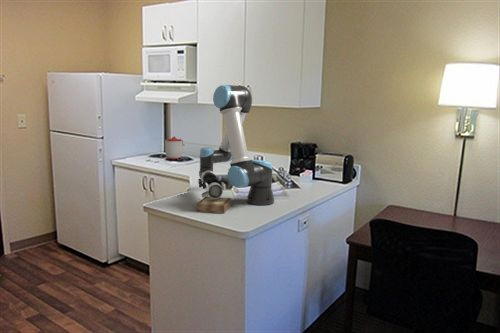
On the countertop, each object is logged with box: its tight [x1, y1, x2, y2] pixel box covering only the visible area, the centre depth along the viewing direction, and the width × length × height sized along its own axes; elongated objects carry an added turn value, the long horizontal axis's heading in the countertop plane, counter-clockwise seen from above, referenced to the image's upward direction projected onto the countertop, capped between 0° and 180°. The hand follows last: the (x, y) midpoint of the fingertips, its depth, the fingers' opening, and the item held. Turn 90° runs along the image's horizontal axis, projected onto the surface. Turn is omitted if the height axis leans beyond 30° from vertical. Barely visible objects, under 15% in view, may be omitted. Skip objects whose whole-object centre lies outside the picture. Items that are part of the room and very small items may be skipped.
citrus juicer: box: [164, 136, 186, 160], centre depth 358 cm, size 16×17×20 cm
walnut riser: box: [196, 196, 232, 214], centre depth 212 cm, size 14×15×4 cm
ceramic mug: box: [201, 182, 224, 199], centre depth 211 cm, size 11×8×8 cm
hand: (216, 188), depth 206 cm, fingers closed on ceramic mug, 8 cm apart
